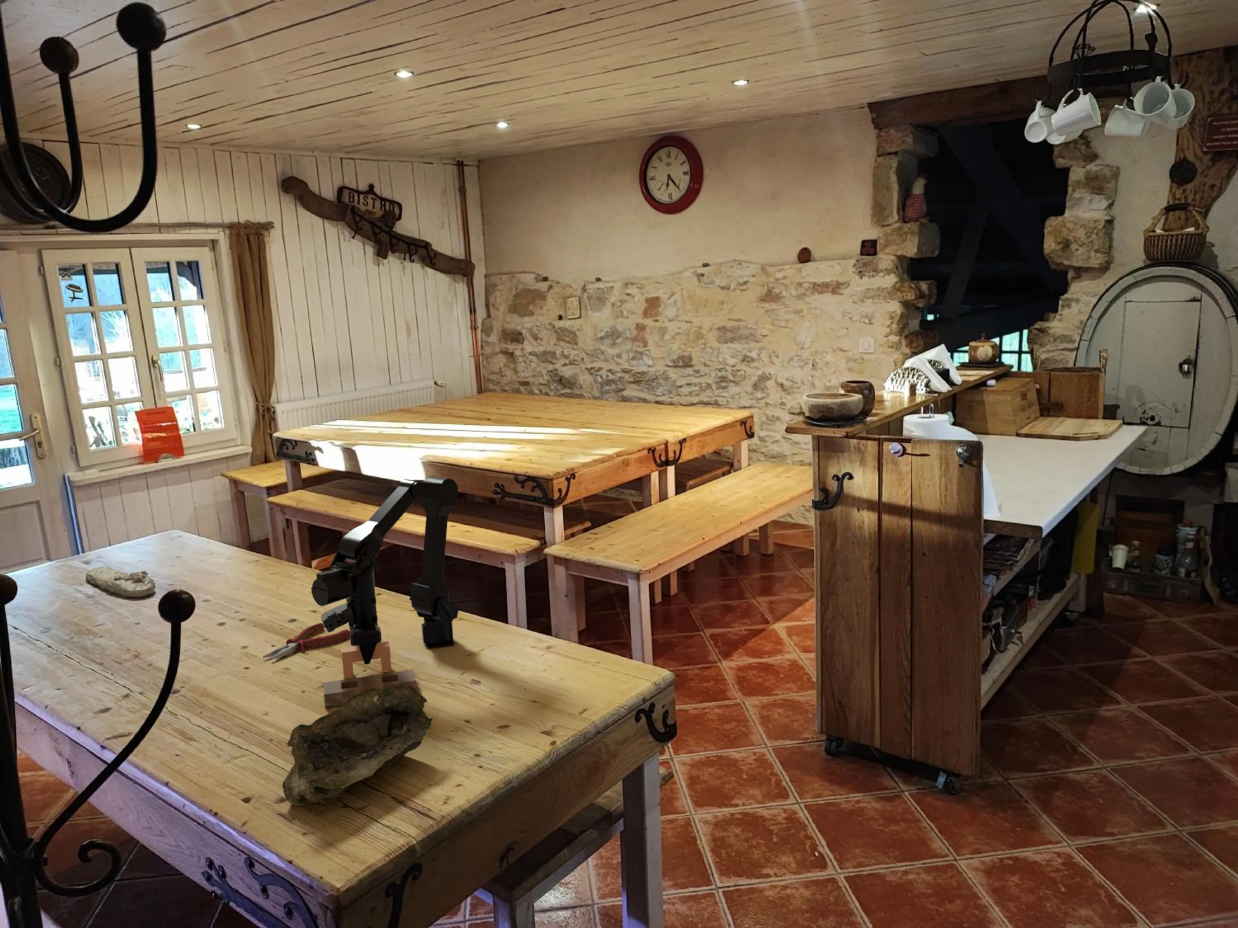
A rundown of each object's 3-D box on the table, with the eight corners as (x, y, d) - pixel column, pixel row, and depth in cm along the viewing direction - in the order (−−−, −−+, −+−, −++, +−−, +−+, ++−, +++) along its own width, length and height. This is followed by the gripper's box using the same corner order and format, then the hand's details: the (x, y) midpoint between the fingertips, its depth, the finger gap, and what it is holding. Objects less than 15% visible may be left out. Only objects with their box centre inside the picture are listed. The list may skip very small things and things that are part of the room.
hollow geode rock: (425, 767, 165) (388, 696, 170) (456, 736, 158) (416, 663, 163) (285, 834, 144) (247, 751, 149) (313, 802, 137) (273, 716, 141)
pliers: (251, 658, 207) (250, 647, 206) (321, 630, 224) (320, 620, 223) (284, 668, 201) (283, 657, 200) (353, 638, 218) (352, 628, 217)
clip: (390, 666, 199) (388, 641, 198) (391, 671, 196) (389, 645, 195) (343, 673, 196) (341, 647, 195) (343, 678, 193) (341, 652, 192)
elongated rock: (112, 576, 276) (78, 586, 268) (109, 560, 275) (74, 570, 267) (166, 591, 254) (130, 603, 247) (163, 573, 253) (126, 584, 246)
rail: (413, 682, 190) (413, 669, 190) (416, 694, 185) (416, 680, 184) (324, 696, 185) (323, 682, 184) (325, 708, 179) (323, 694, 179)
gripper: (321, 584, 199) (327, 650, 202) (322, 611, 181) (328, 683, 184) (373, 578, 202) (378, 643, 205) (379, 604, 185) (384, 675, 188)
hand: (366, 660), depth 196 cm, fingers closed on clip, 3 cm apart
